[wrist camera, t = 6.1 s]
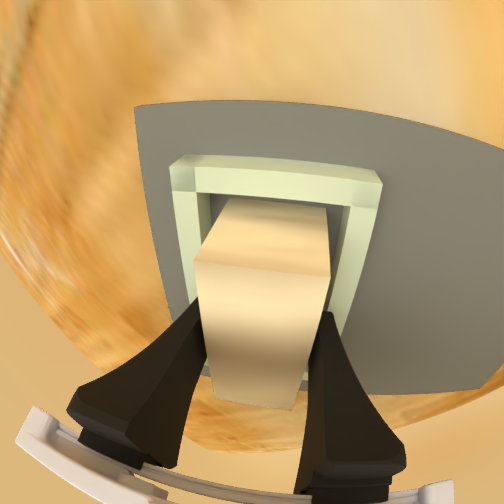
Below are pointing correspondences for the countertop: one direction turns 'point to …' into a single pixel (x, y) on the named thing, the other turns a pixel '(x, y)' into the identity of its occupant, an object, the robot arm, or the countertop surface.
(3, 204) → the countertop surface
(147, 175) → the rubber mat
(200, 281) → the birch block
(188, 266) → the sage frame
